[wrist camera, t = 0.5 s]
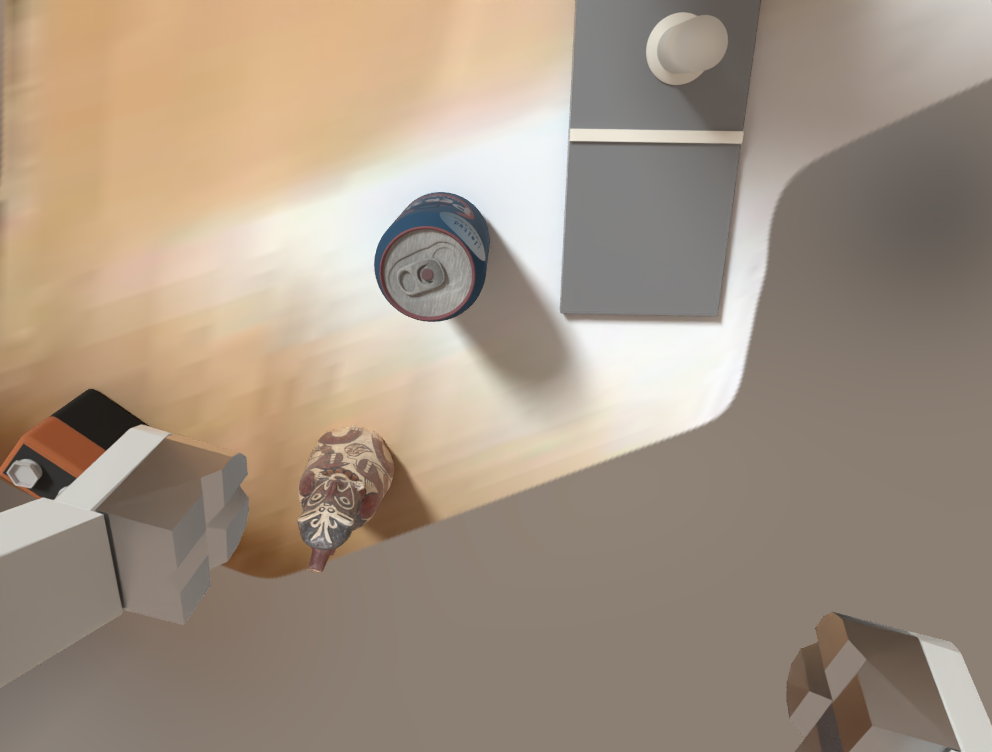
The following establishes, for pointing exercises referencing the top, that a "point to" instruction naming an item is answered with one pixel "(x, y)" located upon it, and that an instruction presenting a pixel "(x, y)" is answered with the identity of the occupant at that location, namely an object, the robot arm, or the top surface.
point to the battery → (66, 444)
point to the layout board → (653, 153)
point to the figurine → (341, 488)
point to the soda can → (434, 258)
